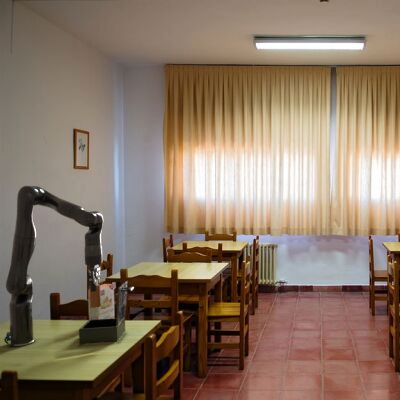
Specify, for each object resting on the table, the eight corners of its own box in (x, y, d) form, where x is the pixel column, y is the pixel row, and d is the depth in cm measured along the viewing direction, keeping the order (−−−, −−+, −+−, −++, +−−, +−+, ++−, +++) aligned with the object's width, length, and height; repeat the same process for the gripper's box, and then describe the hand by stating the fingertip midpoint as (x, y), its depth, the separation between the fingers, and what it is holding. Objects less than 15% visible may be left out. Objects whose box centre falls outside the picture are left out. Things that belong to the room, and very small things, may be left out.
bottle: (90, 308, 231) (89, 281, 230) (89, 306, 235) (88, 279, 234) (101, 306, 233) (100, 280, 232) (100, 304, 237) (99, 278, 236)
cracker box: (99, 330, 255) (97, 289, 254) (88, 329, 256) (87, 289, 255) (115, 322, 269) (114, 283, 268) (105, 321, 270) (104, 283, 269)
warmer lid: (117, 288, 232) (129, 288, 233) (125, 281, 248) (136, 281, 249) (116, 325, 233) (127, 326, 234) (123, 316, 249) (134, 316, 249)
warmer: (79, 346, 231) (78, 329, 230) (89, 335, 246) (89, 319, 246) (117, 343, 233) (116, 326, 233) (125, 333, 249) (124, 317, 249)
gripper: (89, 252, 239) (90, 287, 240) (80, 256, 225) (81, 294, 226) (105, 251, 240) (107, 286, 241) (97, 256, 226) (99, 293, 227)
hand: (95, 290), depth 233 cm, fingers closed on bottle, 4 cm apart
